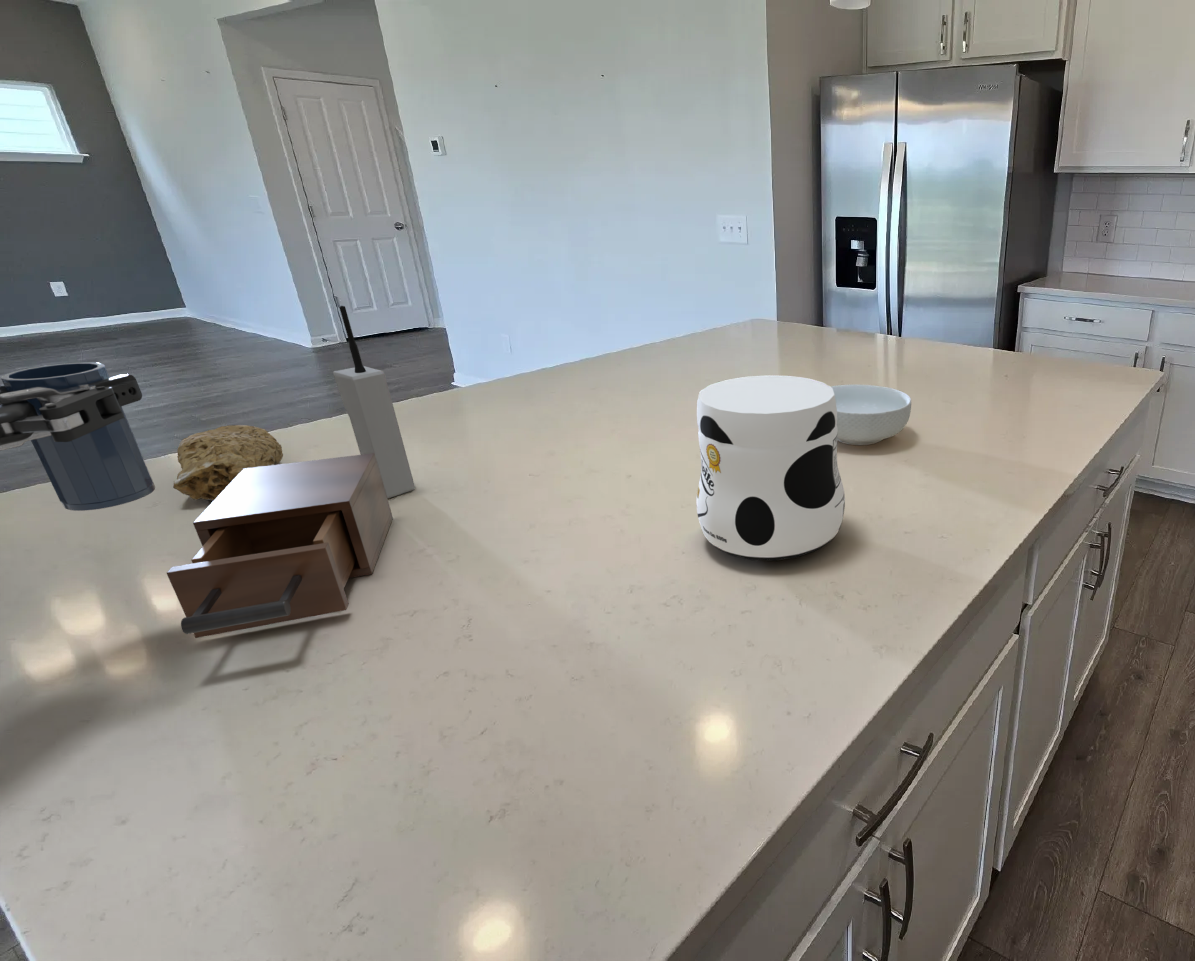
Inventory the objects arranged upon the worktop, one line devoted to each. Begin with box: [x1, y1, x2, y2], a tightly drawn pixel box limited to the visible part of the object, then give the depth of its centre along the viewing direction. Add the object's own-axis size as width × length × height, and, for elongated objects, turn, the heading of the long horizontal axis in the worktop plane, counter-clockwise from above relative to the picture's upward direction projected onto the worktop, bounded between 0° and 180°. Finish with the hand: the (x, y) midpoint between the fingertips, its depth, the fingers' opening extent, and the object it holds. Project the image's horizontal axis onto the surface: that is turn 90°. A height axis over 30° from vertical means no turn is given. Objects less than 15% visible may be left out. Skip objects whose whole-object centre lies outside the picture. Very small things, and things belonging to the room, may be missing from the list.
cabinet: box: [192, 453, 394, 579], centre depth 78 cm, size 15×13×9 cm
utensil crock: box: [0, 362, 156, 512], centre depth 58 cm, size 6×6×11 cm
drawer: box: [166, 510, 357, 639], centre depth 67 cm, size 20×12×7 cm, turn 24°
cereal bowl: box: [829, 383, 912, 446], centre depth 115 cm, size 17×17×7 cm
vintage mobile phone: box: [332, 305, 416, 499], centre depth 90 cm, size 4×5×25 cm
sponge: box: [173, 424, 284, 501], centre depth 97 cm, size 13×8×20 cm
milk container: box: [696, 374, 846, 562], centre depth 81 cm, size 17×17×18 cm
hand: (94, 386), depth 58 cm, fingers closed on utensil crock, 5 cm apart
